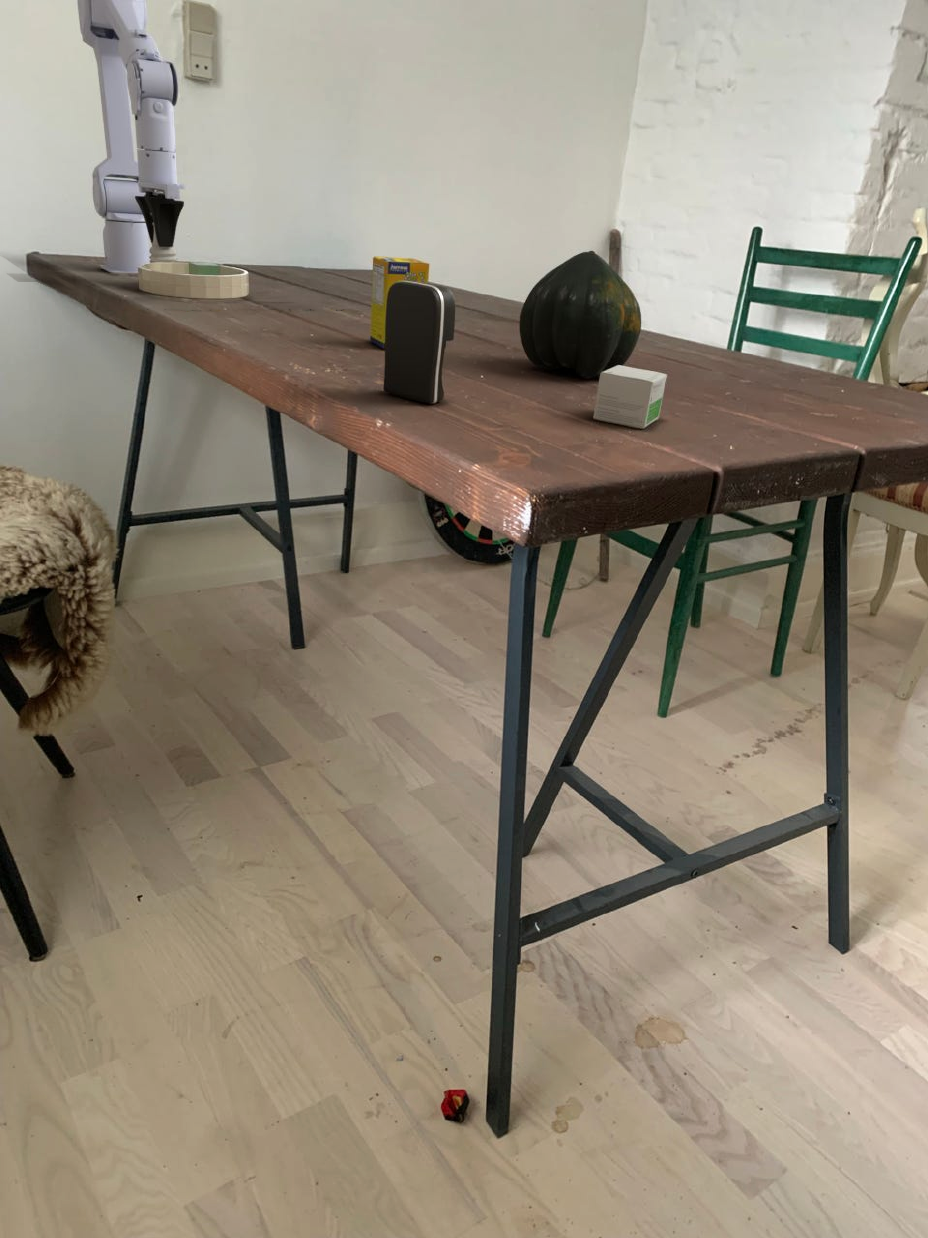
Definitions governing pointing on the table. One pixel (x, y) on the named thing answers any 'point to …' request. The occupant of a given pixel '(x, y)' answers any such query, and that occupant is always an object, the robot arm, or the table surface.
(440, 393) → the battery charger
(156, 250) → the rook chess piece
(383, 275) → the supplement box
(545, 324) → the squash
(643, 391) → the small box
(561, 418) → the table surface
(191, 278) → the bowl
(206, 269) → the block
